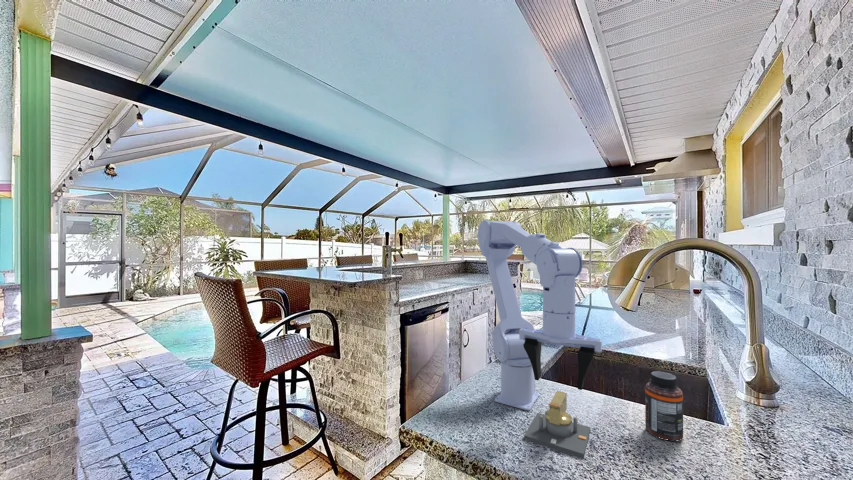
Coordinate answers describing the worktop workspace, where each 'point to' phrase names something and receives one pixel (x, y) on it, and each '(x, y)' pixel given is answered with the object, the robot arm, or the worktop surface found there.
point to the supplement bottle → (664, 406)
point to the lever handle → (558, 410)
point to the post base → (562, 442)
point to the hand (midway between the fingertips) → (558, 383)
